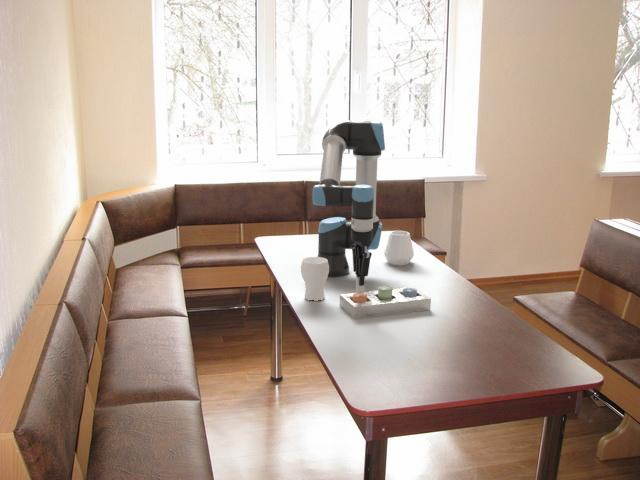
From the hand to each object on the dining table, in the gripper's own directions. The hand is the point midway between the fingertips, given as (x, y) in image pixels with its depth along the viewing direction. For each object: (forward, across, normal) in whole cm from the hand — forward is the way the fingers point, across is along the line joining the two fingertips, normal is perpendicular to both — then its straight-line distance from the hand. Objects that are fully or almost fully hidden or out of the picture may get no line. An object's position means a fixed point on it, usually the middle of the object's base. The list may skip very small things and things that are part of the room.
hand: (360, 292), depth 239 cm
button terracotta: (+6, 0, 0) cm, 6 cm away
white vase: (+8, -52, +41) cm, 67 cm away
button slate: (+6, 0, +20) cm, 21 cm away
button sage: (+4, 0, +10) cm, 11 cm away
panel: (+7, 0, +10) cm, 12 cm away
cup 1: (+7, -18, -11) cm, 22 cm away
